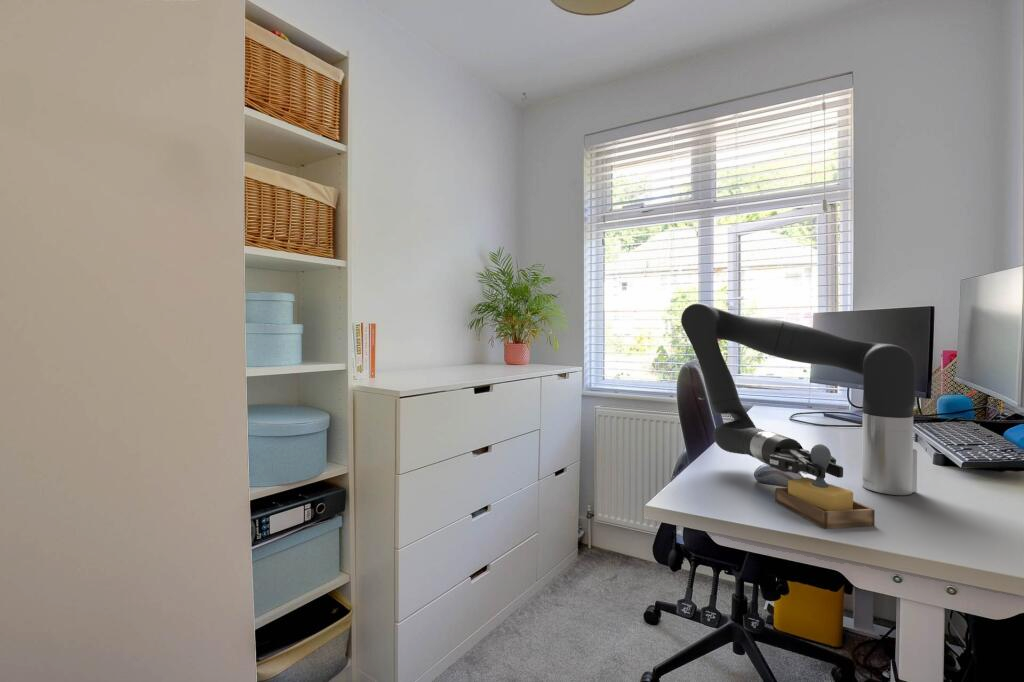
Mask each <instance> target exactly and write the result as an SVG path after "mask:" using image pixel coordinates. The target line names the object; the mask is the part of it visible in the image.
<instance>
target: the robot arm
mask: <svg viewBox="0 0 1024 682" xmlns="http://www.w3.org/2000/svg"><path fill="white" fill-rule="evenodd" d="M680 323H681V326H682V328H683V330H684V332H685V334H686V337H687V338H688V340H689V343H690V344H691V347H692V349H693V351H694V353H695V355H696V358H697V361H698V363H699V367H700V370H701V373H702V376H703V381H704V383H705V386H706V390H707V394H708V397H709V401H710V403H711V407H712V410H713V412H714V413H715V414H719V415H723V414H724V415H725V414H728V415H730V416H731V418H733V420H732V421H728V422H724V423H721V424H719V425H716V427H715V428H714V431H713V440H714V442H715V444H716V445H717V446H718V447H719V449H721V450H723V451H725V452H727V453H730V454H731V453H732V454H736V455H737V454H739V455H747V456H749V457H752V458H754V459H755V460H756V459H757V460H758V461H760V462H761V463H763V464H765V465H767V466H769V467H770V468H773V469H776V470H778V471H781V472H784V473H792V474H799V473H802V474H804V475H811V476H814V477H815V478H816V477H818V478H820V479H822V478H824V479H825V478H826V474H829V475H831V476H833V477H836V478H838V479H840V478H843V477H844V467H843V466H841V465H839V464H837V459H836V458H835V457H834V456H833V455H831V460H830V463H829V465H828V467H827V469H826V471H825V468H824V467H822V466H819V465H817V464H814V463H813V462H812V459H811V451H809V449H804V448H803V446H802V444H800V443H799V441H798V440H796V439H793V438H790V437H787V436H785V435H782V434H779V433H776V432H772V431H771V432H770V431H766V430H763V429H761V428H758V427H757V426H756V425H755V423H754V422H753V420H752V419H751V417H750V416H749V415H748V413H747V411H746V409H745V407H744V406H743V404H742V402H741V400H740V397H739V396H740V395H739V393H738V390H737V387H736V384H735V381H734V379H733V376H732V373H731V372H730V369H729V368H728V365H727V363H726V361H725V359H724V357H723V354H722V350H721V348H720V343H719V340H721V341H722V340H723V341H727V342H733V343H737V344H739V345H742V346H744V347H747V348H749V349H751V350H754V351H756V352H760V353H762V354H765V355H768V356H772V357H775V358H780V359H783V360H787V361H792V362H797V363H804V364H810V365H811V364H812V365H818V366H819V365H821V366H829V367H835V368H839V369H842V370H847V371H849V372H852V373H855V374H856V373H857V374H859V375H861V376H863V381H862V382H863V385H862V386H863V391H862V393H863V394H862V437H861V438H862V443H861V444H862V445H861V446H862V450H861V451H862V455H861V457H862V458H861V459H862V461H861V468H862V469H861V471H862V472H861V475H862V477H861V480H862V482H861V484H862V487H864V489H867V490H869V491H873V492H876V493H880V494H884V495H885V494H886V495H892V496H893V495H894V496H909V495H912V494H913V493H917V491H918V450H917V449H915V448H914V412H915V411H914V408H915V405H916V404H915V403H916V382H917V381H916V378H917V377H916V376H917V374H916V373H917V367H916V360H915V359H914V357H913V355H912V354H911V352H910V351H908V350H907V349H906V348H904V347H902V346H899V345H896V344H893V343H892V344H891V343H880V342H871V341H864V340H855V339H851V338H845V337H842V336H839V335H836V334H832V333H829V332H826V331H823V330H820V329H817V328H814V327H811V326H807V325H803V324H798V323H796V322H795V323H794V322H789V321H784V320H779V319H774V318H773V319H772V318H764V317H755V316H754V317H753V316H752V317H751V316H744V315H739V314H736V313H732V312H730V311H725V310H723V309H720V308H717V307H714V306H712V305H710V304H706V303H701V302H699V303H698V302H697V303H692V304H690V305H688V306H687V307H685V308H684V310H683V311H682V313H681V317H680Z"/></svg>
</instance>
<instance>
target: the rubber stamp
mask: <svg viewBox="0 0 1024 682" xmlns="http://www.w3.org/2000/svg"><path fill="white" fill-rule="evenodd" d="M810 452H811V459H812V462H813V463H814V464H817V465H819V466H822V467H824V468H825V471H826V469H827V467H828V465H829V463H830V460H831V456H832V454H831V451H830V449H829V447H827V446H826V445H824V444H823V443H822V444H821V443H818V444H815V445H814V446H812V448H811V449H810ZM787 487H788V493H789V494H791V495H793V496H795V497H797V498H799V499H801V500H803V501H805V502H807V503H809V504H811V505H813V506H815V507H817V508H819V509H822V510H825V511H839V510H853V501H854V491H852V490H849V489H847V488H844V487H841V486H837V485H834V484H831V483H828V482H826V481H825V478H822V479H820V478H818V477H816V476H815V479H813V478H810V477H800V478H795V479H789V480H788V482H787Z"/></svg>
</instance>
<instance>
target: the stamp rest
mask: <svg viewBox="0 0 1024 682" xmlns="http://www.w3.org/2000/svg"><path fill="white" fill-rule="evenodd" d="M774 502H775V503H776V502H777V504H778V505H780V506H782V507H784V508H786V509H788V510H789V511H791V512H793V513H795V514H797V515H799V516H800V517H802V518H804V519H806V520H808V521H810V522H812V523H813V524H815V525H817V526H819V527H820V528H822V529H824V530H825V529H840V528H857V527H858V528H859V527H872V526H874V527H875V526H876V525H875V523H876V522H875V520H876V519H875V517H876V516H875V511H876V510H875V509H873V508H872V507H869V506H867V505H864V504H862V503H860V502H858V501H856V500H853V510H839V511H825V510H822V509H819V508H817V507H815V506H813V505H811V504H809V503H807V502H805V501H803V500H801V499H799V498H797V497H795V496H793V495H791V494H789V493H788V486H786V487H775V488H774Z"/></svg>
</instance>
